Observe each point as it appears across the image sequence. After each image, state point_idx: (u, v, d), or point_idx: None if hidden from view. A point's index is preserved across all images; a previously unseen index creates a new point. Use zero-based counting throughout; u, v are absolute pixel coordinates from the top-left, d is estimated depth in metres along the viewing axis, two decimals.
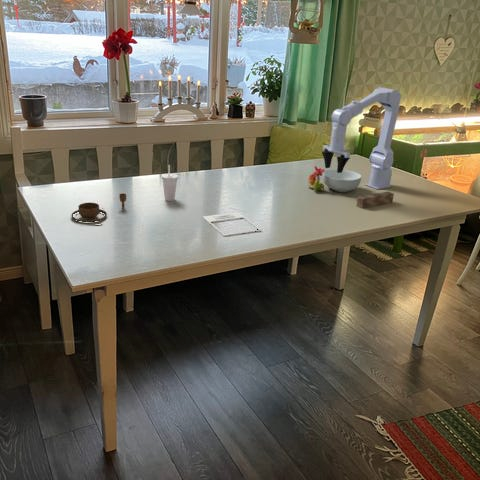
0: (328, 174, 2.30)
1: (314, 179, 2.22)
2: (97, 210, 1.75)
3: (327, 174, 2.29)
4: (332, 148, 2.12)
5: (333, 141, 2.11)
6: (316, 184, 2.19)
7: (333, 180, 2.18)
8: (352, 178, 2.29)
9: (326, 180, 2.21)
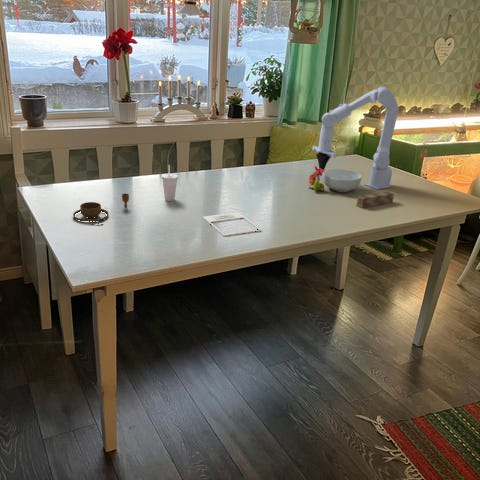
0: (328, 174, 2.30)
1: (314, 179, 2.22)
2: (98, 210, 1.76)
3: (327, 174, 2.29)
4: (320, 149, 2.29)
5: (321, 142, 2.28)
6: (316, 184, 2.19)
7: (333, 180, 2.18)
8: (352, 178, 2.29)
9: (326, 180, 2.21)
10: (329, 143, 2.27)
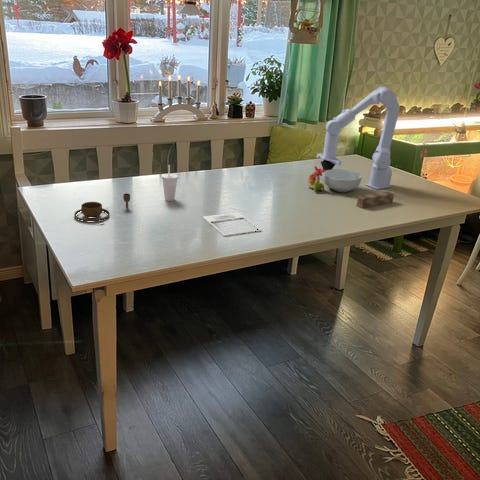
0: (328, 174, 2.29)
1: (314, 179, 2.22)
2: (99, 209, 1.76)
3: (327, 174, 2.29)
4: (325, 156, 2.27)
5: (326, 150, 2.26)
6: (316, 184, 2.19)
7: (333, 180, 2.18)
8: (352, 178, 2.29)
9: (326, 180, 2.21)
10: (334, 151, 2.26)
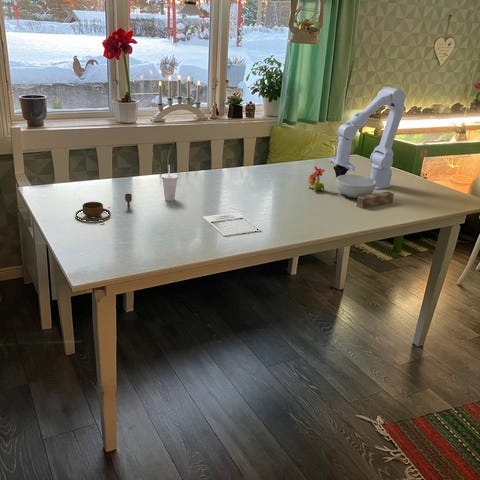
0: (341, 179, 2.23)
1: (314, 179, 2.22)
2: (100, 209, 1.76)
3: (340, 179, 2.22)
4: (338, 161, 2.21)
5: (339, 155, 2.19)
6: (316, 184, 2.19)
7: (346, 186, 2.11)
8: (366, 184, 2.22)
9: (339, 186, 2.14)
10: (347, 155, 2.19)
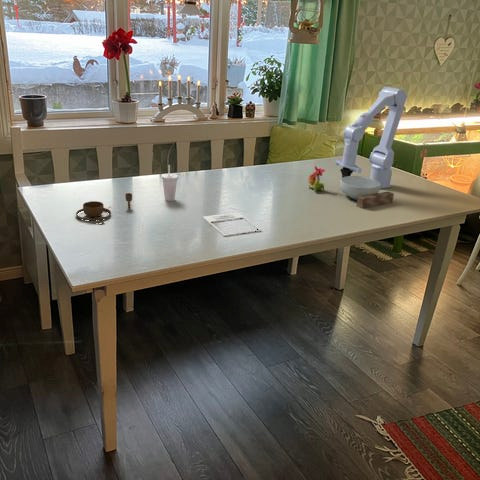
0: (345, 181, 2.21)
1: (314, 179, 2.22)
2: (101, 209, 1.77)
3: (344, 181, 2.20)
4: (344, 163, 2.18)
5: (345, 157, 2.16)
6: (316, 184, 2.19)
7: (351, 188, 2.09)
8: (370, 185, 2.20)
9: (343, 187, 2.12)
10: (353, 158, 2.16)
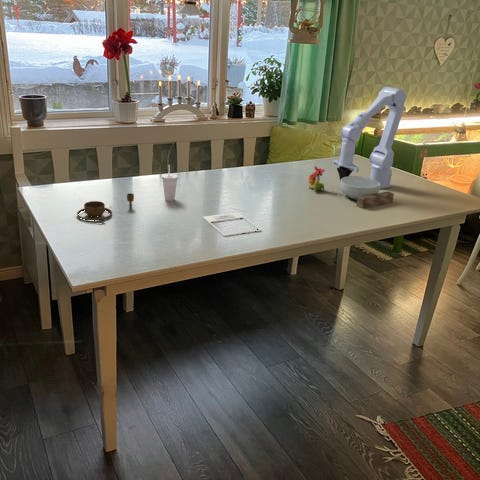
0: (345, 181, 2.21)
1: (314, 179, 2.22)
2: (102, 209, 1.77)
3: (344, 181, 2.20)
4: (342, 163, 2.19)
5: (343, 156, 2.18)
6: (316, 184, 2.19)
7: (350, 188, 2.09)
8: (370, 185, 2.21)
9: (343, 187, 2.12)
10: (351, 157, 2.17)
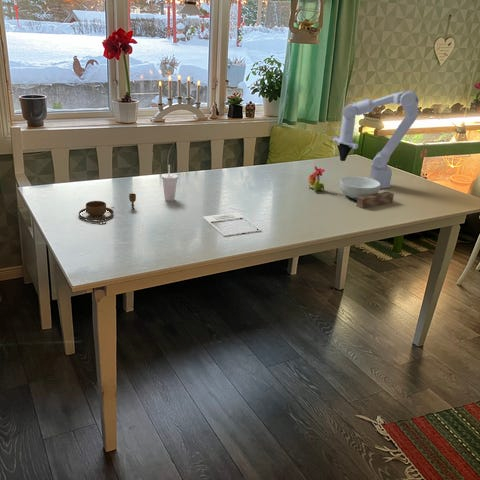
0: (345, 181, 2.21)
1: (314, 179, 2.22)
2: (103, 209, 1.77)
3: (344, 181, 2.20)
4: (342, 140, 2.30)
5: (343, 133, 2.29)
6: (316, 184, 2.19)
7: (350, 188, 2.09)
8: (370, 185, 2.21)
9: (343, 188, 2.12)
10: (351, 134, 2.29)
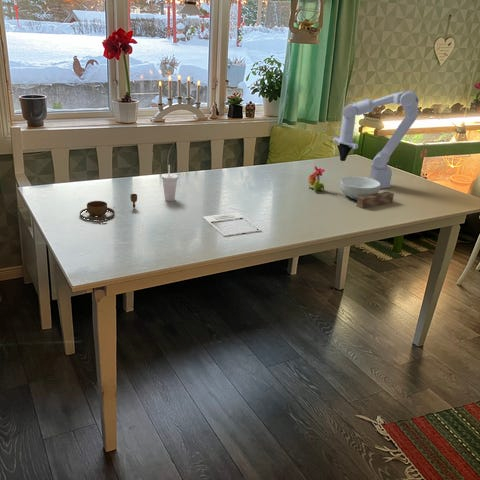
0: (345, 181, 2.21)
1: (314, 179, 2.22)
2: (104, 209, 1.77)
3: (344, 181, 2.20)
4: (342, 140, 2.30)
5: (343, 133, 2.29)
6: (316, 184, 2.19)
7: (350, 188, 2.09)
8: (370, 185, 2.21)
9: (343, 188, 2.12)
10: (351, 134, 2.29)
